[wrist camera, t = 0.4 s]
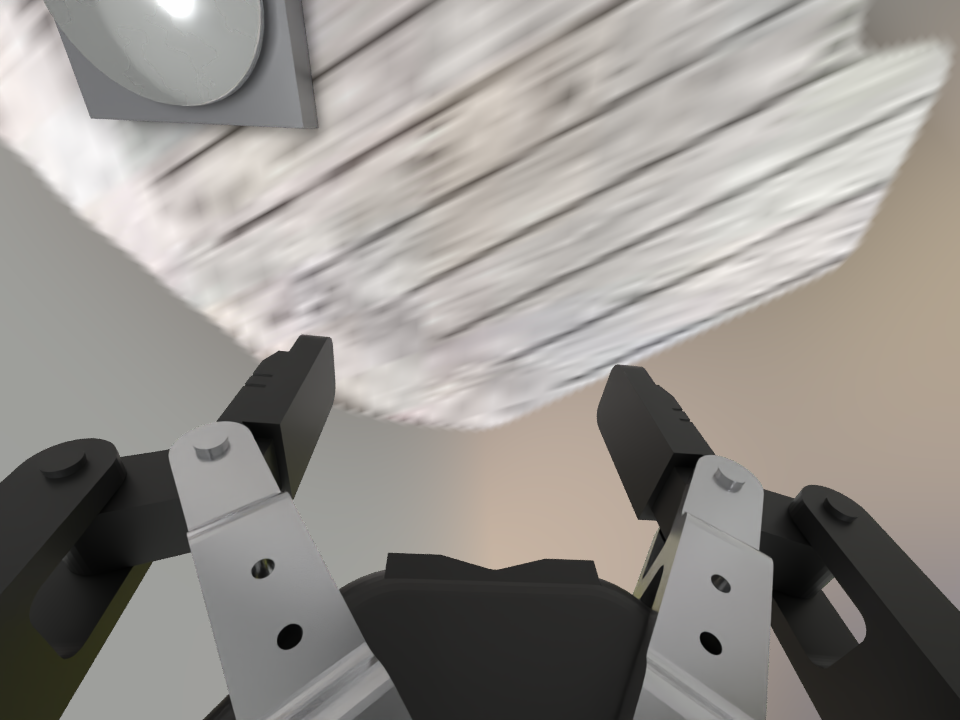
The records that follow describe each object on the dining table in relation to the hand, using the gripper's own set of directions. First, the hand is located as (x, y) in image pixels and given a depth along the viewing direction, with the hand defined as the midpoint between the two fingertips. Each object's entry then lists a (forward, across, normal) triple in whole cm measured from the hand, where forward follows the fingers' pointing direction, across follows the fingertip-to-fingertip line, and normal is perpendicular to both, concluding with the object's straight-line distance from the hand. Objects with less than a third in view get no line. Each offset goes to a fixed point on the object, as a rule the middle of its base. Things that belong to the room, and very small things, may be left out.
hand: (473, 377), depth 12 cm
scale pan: (+23, +19, -10) cm, 32 cm away
